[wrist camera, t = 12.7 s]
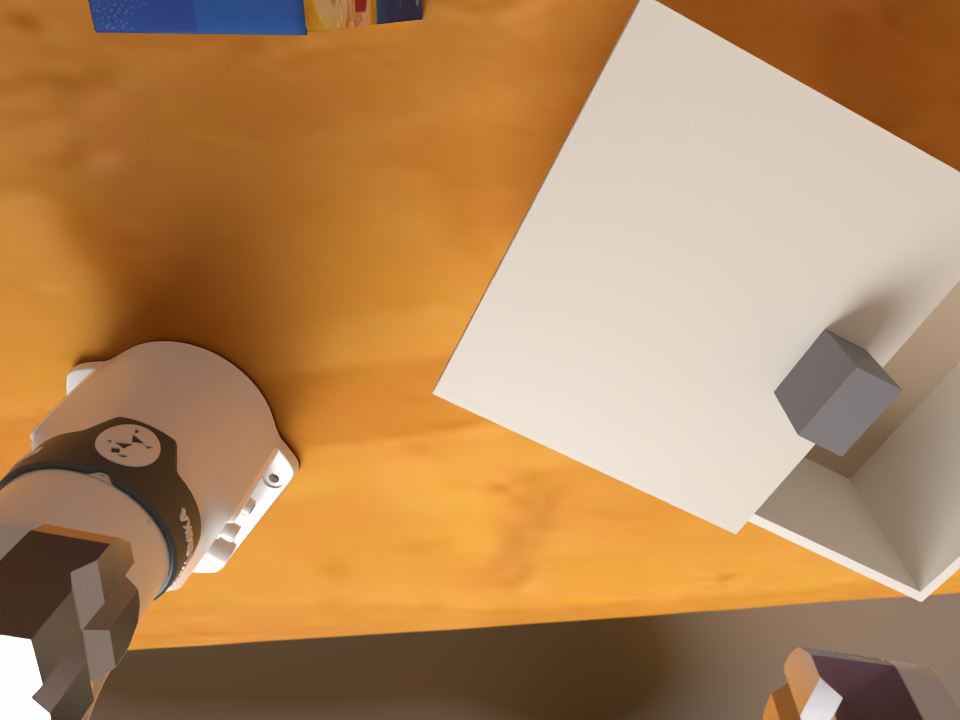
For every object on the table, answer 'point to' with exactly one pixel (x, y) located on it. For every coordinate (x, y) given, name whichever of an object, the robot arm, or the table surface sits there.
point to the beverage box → (246, 15)
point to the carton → (889, 474)
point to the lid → (708, 276)
